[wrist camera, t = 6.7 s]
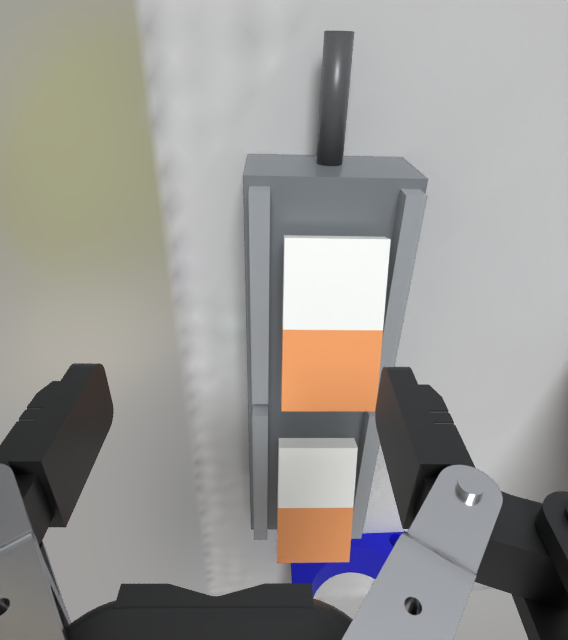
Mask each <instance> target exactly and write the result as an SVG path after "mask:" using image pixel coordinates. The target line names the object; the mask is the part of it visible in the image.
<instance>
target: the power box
mask: <svg viewBox="0 0 568 640" xmlns="http://www.w3.org/2000/svg"><path fill="white" fill-rule="evenodd" d="M353 40H354V32H352V31H324V46H323V63H322V79H321V96H320V112H319V129H318V145H317V155H276V154H248V155H247V159H246V164H245V169H244V173H243V194H244V239H245V283H246V328H247V372H248V417H249V461H250V506H251V529H254V540H264V539H267V529H277V507H278V445H279V438H354V439H355V442H356V445H357V447H358V451H357V465H356V478H355V492H354V506H353V519H352V533H351V539H361V537H362V532H363V527H364V522H365V517H366V512H367V506H368V501H369V496H370V491H371V486H372V481H373V475H374V470H375V465H376V460H377V455H378V449H379V444H380V440H379V436H378V432H377V428H376V421H375V411H281V369H282V311H283V253H284V235H301V236H369V237H386V238H389V239H391V241H390V253H389V265H388V277H387V288H386V300H385V312H384V324H383V336H382V348H381V360H380V371H379V383H380V377H381V372H382V369H383V367H395V361H396V356H397V351H398V346H399V341H400V336H401V330H402V325H403V320H404V315H405V310H406V305H407V299H408V294H409V289H410V284H411V279H412V273H413V268H414V263H415V258H416V253H417V248H418V242H419V237H420V232H421V227H422V222H423V217H424V211H425V206H426V201H427V195H426V194H425V193H426V188H427V182H428V178H426V177H425V176H424V175H423V174H422V173H421V172H419V171H418V170H417V169H416V168H415V167H413V166H412V165H411V164H410V163H409V162H408V161H406V160H405V159H404V158H403V157H372V156H343V151H344V140H345V129H346V118H347V107H348V96H349V85H350V73H351V62H352V51H353ZM379 383H378V389H379Z"/></svg>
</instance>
